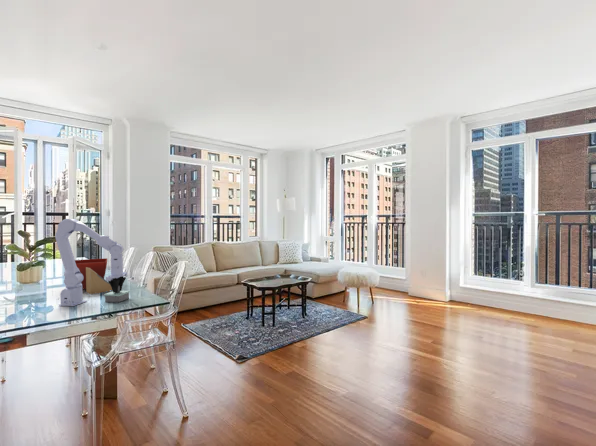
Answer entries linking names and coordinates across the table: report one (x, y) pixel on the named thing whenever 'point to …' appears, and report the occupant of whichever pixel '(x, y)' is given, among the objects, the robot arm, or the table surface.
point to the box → (117, 298)
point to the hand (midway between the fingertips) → (117, 291)
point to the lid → (116, 293)
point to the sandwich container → (96, 282)
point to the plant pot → (91, 267)
